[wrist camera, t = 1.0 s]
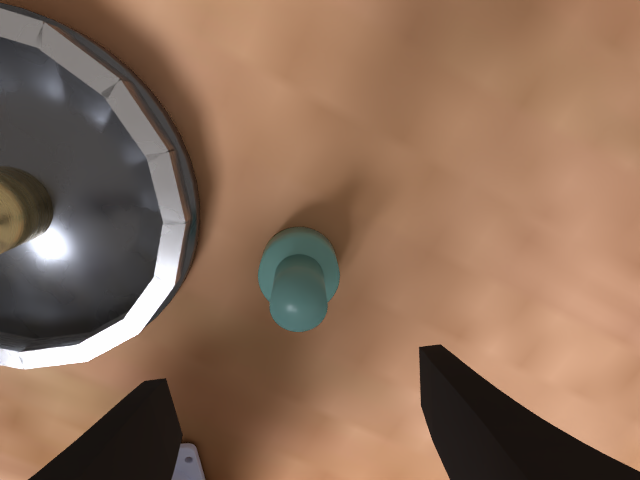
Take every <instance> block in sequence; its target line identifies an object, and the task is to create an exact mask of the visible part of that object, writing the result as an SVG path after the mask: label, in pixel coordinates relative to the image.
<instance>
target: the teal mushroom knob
mask: <svg viewBox="0 0 640 480" xmlns="http://www.w3.org/2000/svg"><path fill="white" fill-rule="evenodd" d="M339 279H340V272H339V267H338V263H337V259H336V255H335V251H334V249H333V247H332V245H331V243H330V242H329V240H328V239H327V238H326V237H325V236H324V235H322V234H321V233H319V232H318V231H316V230H313V229H310V228H306V227H292V228H288V229H285V230H283V231H281V232H279V233H277V234H276V235H275V236H274V237H272V239H271V240H270V241H269V242H268V244H267V245H266V247H265V249H264V252H263V256H262V259H261V263H260V266H259V271H258V281H259V286H260V289H261V291H262V293H263V295H264V296H265V297H266V299H267V300H268V301H269V302H270V313H271V315H272V318H273V319H274V321H275V322H276V323H277V324H278V325H279V326H281V327H282V328H284V329H286V330H289V331H293V332H304V331H308V330H311V329H313V328H315V327H316V326H318V325H319V324H320V323H321V322H322V321H323V319H324V317H325V315H326V313H327V308H328V304H327V303H328V302H329V301H330V300H331V298H332V297H333V296H334V294H335V292H336V290H337V288H338V285H339Z"/></svg>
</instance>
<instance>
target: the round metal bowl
mask: <svg viewBox="0 0 640 480" xmlns="http://www.w3.org/2000/svg"><path fill="white" fill-rule="evenodd" d="M199 228H200V201H199V195H198V188H197V181H196V177H195V174H194V170H193V167H192V163H191V160H190V157H189V155H188V152H187V150H186V148H185V145H184V143H183V141H182V138H181V136H180V134H179V132H178V131H177V129H176V127H175V125H174V124H173V122H172V120H171V118H170V117H169V115H168V113H167V112H166V110H165V109H164V108H163V106H162V105H161V104H160V102H159V101H158V100H157V98H156V97H155V96H154V94H153V93H152V92H151V90H150V89H149V88H148V87H147V86H146V85H145V84H144V83H143V82H142V81H141V80H140V79H139V78H138V76H137V75H136V74H135V73H134V72H133V71H132V70H131V69H129V68H128V67H127V66H126V65H125V64H124V63H122V62H121V61H120V60H119V59H118V58H117V57H115V56H114V55H113V54H112V53H111V52H109V51H108V50H106V49H105V48H103V47H102V46H100V45H99V44H97V43H96V42H94V41H93V40H91V39H90V38H89V37H87V36H85V35H83V34H81V33H79V32H77V31H75V30H73V29H72V28H70V27H68V26H66V25H64V24H62V23H59V22H57V21H54V20H52V19H49V18H47V17H44V16H42V15H39V14H36V13H34V12H31V11H28V10H26V9H23V8H20V7H16V6H12V5H7V4H3V3H0V365H4V366H9V367H14V368H19V369H30V368H38V367H46V366H54V365H62V364H70V363H78V362H86V361H89V360H91V359H92V358H94V357H96V356H98V355H100V354H102V353H104V352H105V351H107V350H109V349H111V348H113V347H115V346H116V345H118V344H120V343H122V342H124V341H126V340H128V339H129V338H131V337H133V336H135V335H137V334H139V333H140V331H141V330H142V329H143V328H144V327H145V326H147V325H148V324H149V323H150V322H151V321H152V320H154V319H155V318H156V317H157V316H158V315H159V314H160V313H161V312H162V310H163V309H164V308H165V307H166V306H167V305H168V304H169V302H170V301H171V300H172V298H173V297H174V296H175V294H176V293H177V291H178V289H179V288H180V286H181V285H182V283H183V282H184V280H185V278H186V276H187V273H188V271H189V269H190V267H191V264H192V262H193V258H194V255H195V251H196V247H197V244H198V236H199Z"/></svg>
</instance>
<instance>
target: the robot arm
mask: <svg viewBox="0 0 640 480" xmlns="http://www.w3.org/2000/svg"><path fill="white" fill-rule="evenodd" d="M419 358H420V390H421V407H422V410H423V413H424V416H425V419H426V423H427V426H428V429H429V432H430V435H431V437H432V440H433V443H434V445H435V447H436V450H437V452H438V454H439V456H440V458H441V461H442V463H443V465H444V467H445V469H446V472H447V474H448V476H449V478H450V480H640V472H639V471H637V470H635V469H633V468H631V467H629V466H627V465H625V464H623V463H621V462H619V461H617V460H615V459H613V458H611V457H609V456H607V455H605V454H603V453H601V452H600V451H598V450H596V449H594V448H592V447H590V446H588V445H586V444H585V443H583V442H581V441H579V440H578V439H576V438H574V437H572V436H571V435H569V434H567V433H565V432H564V431H562V430H560V429H558V428H557V427H555V426H553V425H552V424H550V423H548V422H547V421H545V420H543V419H542V418H540V417H539V416H537V415H536V414H534V413H533V412H531V411H530V410H528V409H526V408H525V407H523V406H522V405H520V404H519V403H517V402H516V401H514V400H513V399H512V398H510V397H509V396H507V395H506V394H504V393H503V392H502V391H500V390H499V389H497V388H496V387H495V386H493V385H492V384H491V383H489V382H488V381H487V380H485V379H484V378H483V377H481V376H480V375H479V374H477V373H476V372H475V371H474V370H472V369H471V368H470V367H468V366H467V365H466V364H465V363H463V362H462V361H461V360H460V359H458V358H457V357H456V356H455V355H453V354H452V353H451V352H450V351H448V350H447V349H446V348H445V347H443V346H442V345H441V344H440V345H432V346H424V347H419ZM181 440H182V431H181V428H180V425H179V421H178V418H177V414H176V411H175V408H174V404H173V401H172V397H171V394H170V391H169V387H168V384H167V380H166V378H165V379H157V380H149V381H144V382H143V383H141V384H140V385H139V386H138V387H136V388H135V389H134V390H133V391H132V392H130V393H129V394H128V395H127V396H126V397H125V398H124V399H122V400H121V401H120V402H119V403H118V404H117V405H116V406H115V407H113V408H112V409H111V410H110V411H109V412H108V413H107V414H106V415H104V416H103V417H102V418H101V419H100V420H99V421H98V422H96V423H95V424H94V425H93V426H92V427H91V428H90V429H89V430H87V431H86V432H85V433H84V434H83V435H82V436H81V437H79V438H78V439H77V440H76V441H75V442H74V443H72V444H71V445H70V446H69V447H67V448H66V449H65V450H64V451H63V452H61V453H60V454H59V455H58V456H57V457H55V458H54V459H53V460H52V461H51V462H49V463H48V464H47V465H46V466H44V467H43V468H42V469H41V470H40V471H38V472H37V473H36V474H35V475H33V476H32V477H31V478H30V479H28V480H205V477H204V473H203V469H202V466H201V462H200V459H199V455H198V452H197V448H196V446H195V445H193V444H191V443H184V444H181ZM189 457H191V458H189Z"/></svg>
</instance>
